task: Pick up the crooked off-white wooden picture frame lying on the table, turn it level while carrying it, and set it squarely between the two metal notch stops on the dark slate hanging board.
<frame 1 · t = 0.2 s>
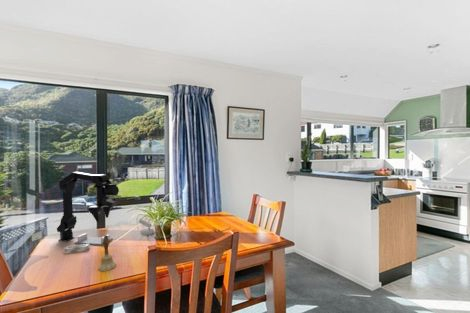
hand: (102, 219, 168), 14 cm above the table, tool pointing down, fingers open, 9 cm apart
frame: (77, 251, 156), on the table
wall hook: (146, 232, 186), on the table
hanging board: (94, 241, 170), on the table
hand bell: (107, 267, 135), on the table
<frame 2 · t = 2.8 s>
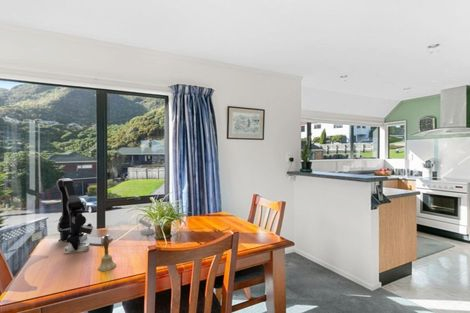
hand: (77, 248, 156), 1 cm above the table, tool pointing down, fingers closed on frame, 4 cm apart
frame: (77, 250, 156), on the table, touching gripper
everything else where it was.
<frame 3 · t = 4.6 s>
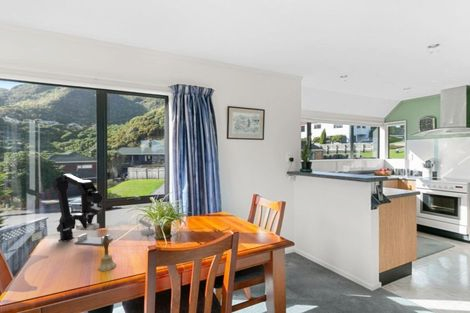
hand: (87, 227, 165), 11 cm above the table, tool pointing down, fingers closed on frame, 4 cm apart
frame: (87, 229, 165), point 10 cm above the table, touching gripper
everything else where it was.
when the fingers open (3 cm above the table, at t = 6.5 s): frame drops 1 cm, resting on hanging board.
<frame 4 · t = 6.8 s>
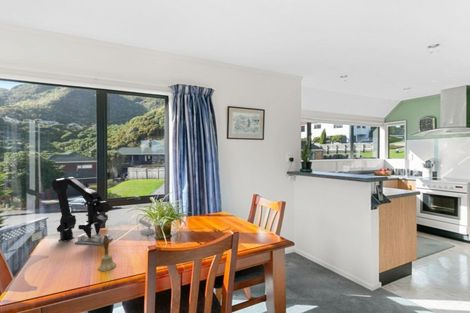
hand: (93, 236, 170), 3 cm above the table, tool pointing down, fingers open, 7 cm apart
frame: (94, 240, 170), point 1 cm above the table, touching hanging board
everything else where it was.
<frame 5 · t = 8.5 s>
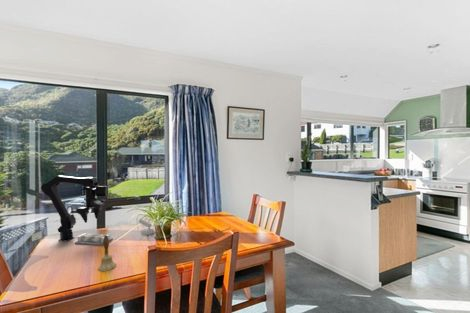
hand: (91, 220, 176), 12 cm above the table, tool pointing down, fingers open, 9 cm apart
nothing on the table moved.
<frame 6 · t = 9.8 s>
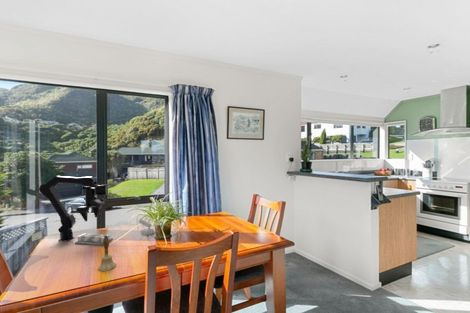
hand: (91, 219, 178), 12 cm above the table, tool pointing down, fingers open, 9 cm apart
nothing on the table moved.
at the end: frame 0.1 cm off-centre on the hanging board, point 1.0 cm above the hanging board's base; frame tilted 0°; the gripper is holding nothing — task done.
